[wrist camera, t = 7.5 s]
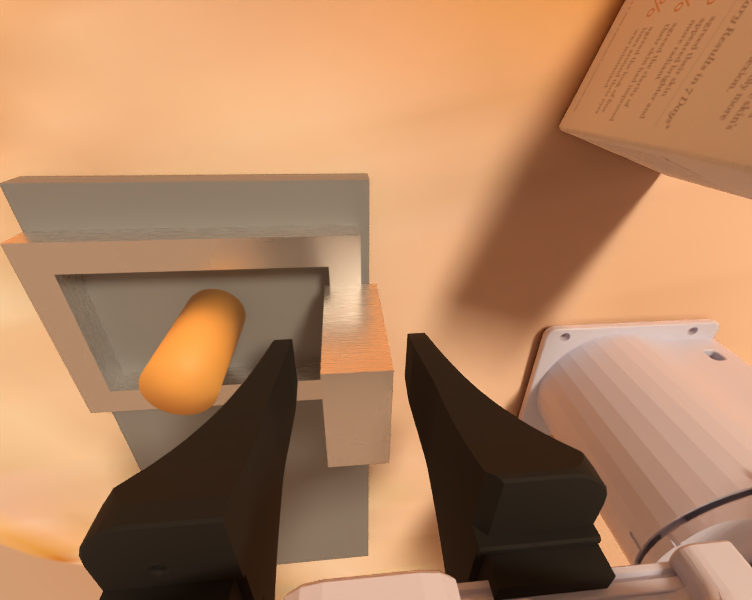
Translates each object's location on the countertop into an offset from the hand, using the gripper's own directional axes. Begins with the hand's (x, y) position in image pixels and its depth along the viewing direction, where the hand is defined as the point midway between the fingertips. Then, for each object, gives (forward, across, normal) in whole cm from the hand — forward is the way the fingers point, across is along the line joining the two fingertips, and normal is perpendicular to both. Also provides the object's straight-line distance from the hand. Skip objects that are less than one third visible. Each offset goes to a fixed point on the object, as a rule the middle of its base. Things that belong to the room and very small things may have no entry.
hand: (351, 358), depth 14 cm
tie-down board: (+4, +5, +8) cm, 11 cm away
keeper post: (+4, +6, 0) cm, 7 cm away
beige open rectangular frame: (+3, +6, 0) cm, 6 cm away
